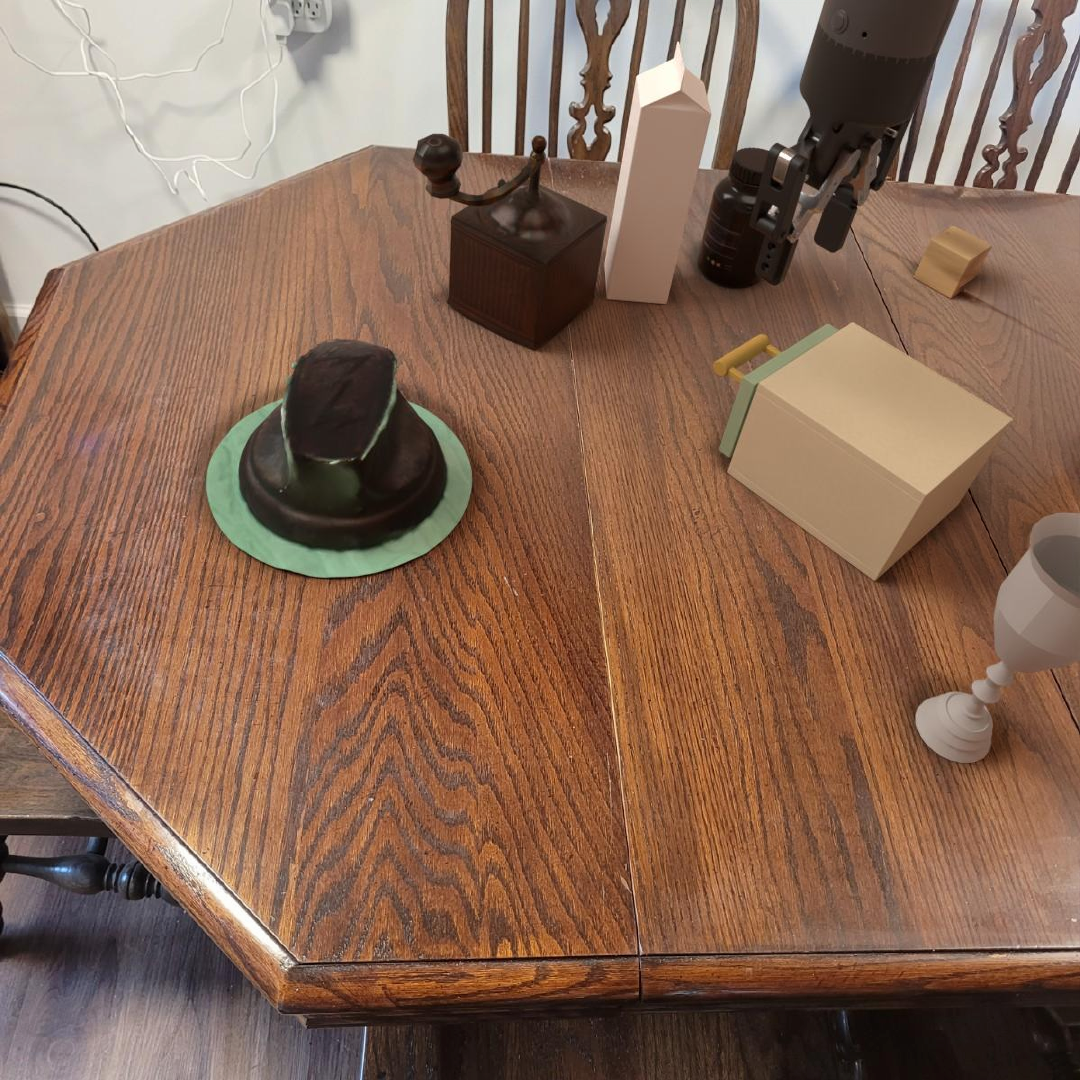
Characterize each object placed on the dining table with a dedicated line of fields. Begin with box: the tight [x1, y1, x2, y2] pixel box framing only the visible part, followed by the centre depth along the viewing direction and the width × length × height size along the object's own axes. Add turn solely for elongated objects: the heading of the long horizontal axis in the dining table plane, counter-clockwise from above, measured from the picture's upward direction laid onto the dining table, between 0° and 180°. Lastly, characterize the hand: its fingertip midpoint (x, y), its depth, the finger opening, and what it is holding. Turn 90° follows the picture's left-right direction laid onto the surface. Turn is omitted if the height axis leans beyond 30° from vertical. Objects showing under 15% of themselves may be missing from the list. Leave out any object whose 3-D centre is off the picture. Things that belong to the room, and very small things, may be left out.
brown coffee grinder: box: [412, 133, 608, 350], centre depth 81 cm, size 16×11×18 cm
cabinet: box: [727, 321, 1013, 582], centre depth 74 cm, size 15×13×10 cm
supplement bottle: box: [697, 146, 772, 288], centre depth 92 cm, size 7×7×12 cm
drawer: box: [712, 323, 840, 459], centre depth 76 cm, size 18×11×8 cm, turn 44°
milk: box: [603, 41, 712, 305], centre depth 85 cm, size 6×6×22 cm
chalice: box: [915, 512, 1080, 764], centre depth 56 cm, size 7×7×18 cm
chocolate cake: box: [205, 338, 473, 578], centre depth 71 cm, size 15×19×20 cm
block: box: [913, 225, 993, 299], centre depth 98 cm, size 5×5×5 cm
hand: (798, 262), depth 70 cm, fingers open, 7 cm apart
